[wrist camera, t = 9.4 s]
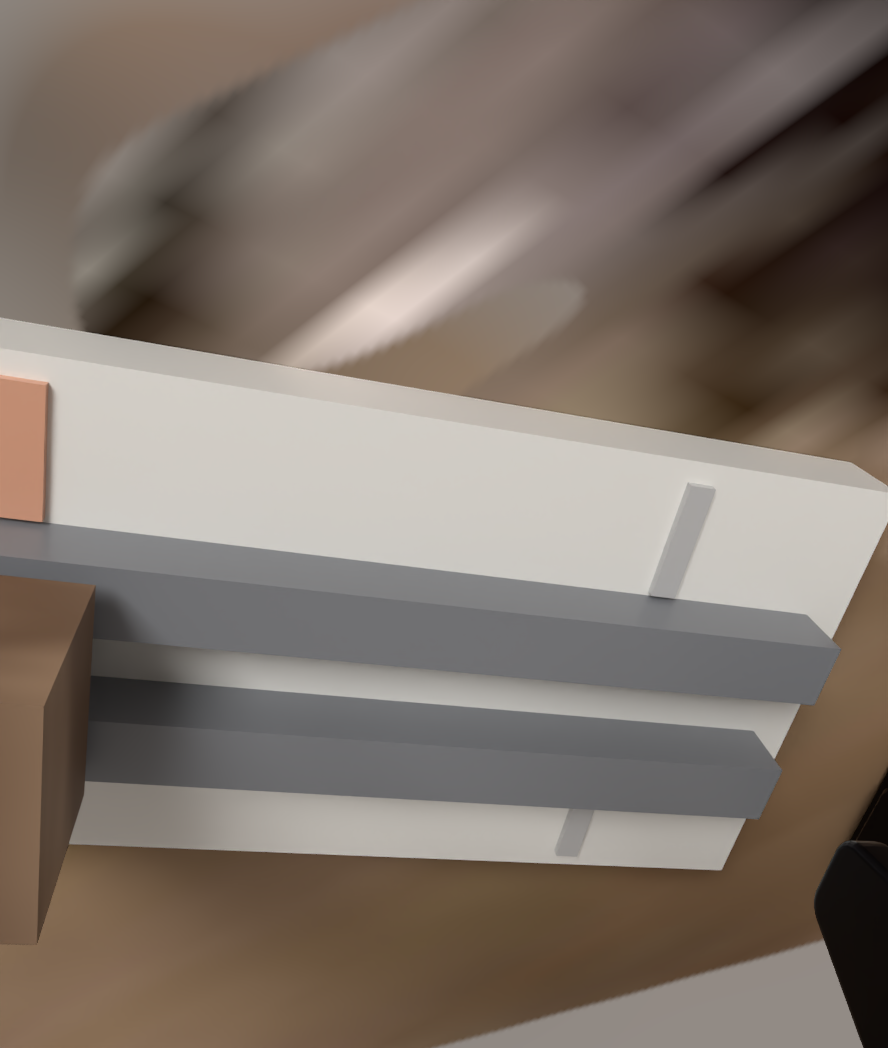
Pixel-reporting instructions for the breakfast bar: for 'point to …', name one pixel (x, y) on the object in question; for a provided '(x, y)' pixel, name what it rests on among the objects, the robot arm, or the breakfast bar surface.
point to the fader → (40, 740)
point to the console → (417, 608)
